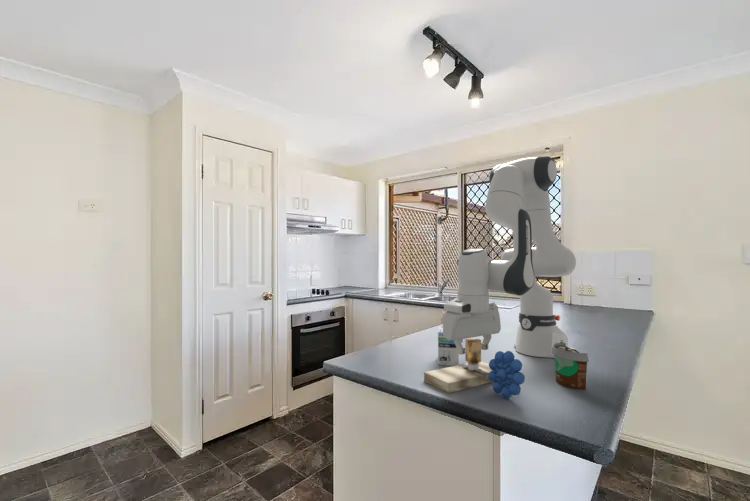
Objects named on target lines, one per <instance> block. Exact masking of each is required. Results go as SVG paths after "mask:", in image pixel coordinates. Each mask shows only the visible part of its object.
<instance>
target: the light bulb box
mask: <svg viewBox="0 0 750 501" xmlns="http://www.w3.org/2000/svg"><path fill="white" fill-rule="evenodd" d="M437 351H438V352H437V358H438V359H437V360H438V361H437V364H438V365H439V366H448V367H452V366H457V365H460V362H459V360H460V358H459V357H460V356H459V355H460V354H458V353H457V347H456V345H455V343H454V340H449V339H446V338H445V337H444V335H443V325H441V326H438V327H437Z"/></svg>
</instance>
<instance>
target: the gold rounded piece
mask: <svg viewBox="0 0 750 501" xmlns="http://www.w3.org/2000/svg"><path fill="white" fill-rule="evenodd" d="M464 340H465V341H464V342H465V346H464V348H465V354H464V355H465V358H464V359H465V361H466V362H467V363H468V371H470V372H476V371H479V363H480V362H482V349H481V343H482V340H481V339H480V338H476V337H471V338H465V339H464Z"/></svg>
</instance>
